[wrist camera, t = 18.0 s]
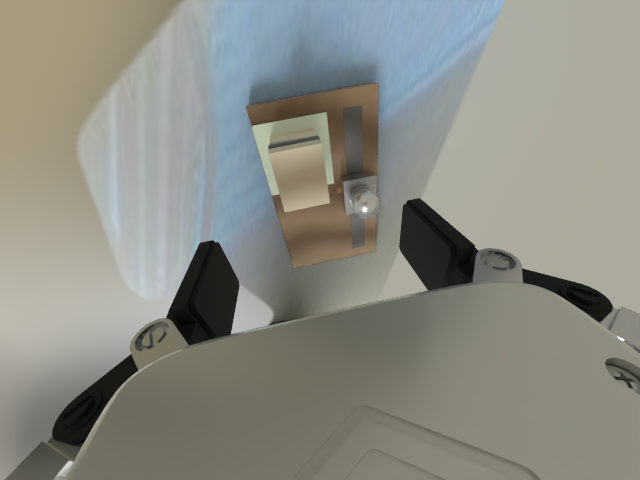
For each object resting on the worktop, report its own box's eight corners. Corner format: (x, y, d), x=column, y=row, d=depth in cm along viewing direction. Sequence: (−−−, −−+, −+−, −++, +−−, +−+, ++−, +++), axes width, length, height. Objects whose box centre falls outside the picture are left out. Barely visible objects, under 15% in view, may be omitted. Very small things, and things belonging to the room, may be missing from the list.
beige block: (320, 178, 24) (330, 203, 20) (282, 185, 24) (284, 213, 20) (312, 126, 21) (322, 142, 17) (269, 135, 21) (267, 153, 16)
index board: (372, 244, 34) (376, 251, 32) (292, 261, 33) (293, 269, 32) (373, 82, 22) (378, 83, 20) (247, 105, 21) (245, 107, 20)
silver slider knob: (372, 202, 27) (385, 220, 24) (343, 208, 27) (352, 227, 24) (372, 170, 25) (386, 185, 21) (340, 176, 25) (349, 192, 21)
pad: (333, 182, 25) (334, 183, 25) (271, 194, 25) (271, 195, 25) (326, 112, 21) (326, 112, 21) (251, 125, 21) (251, 126, 21)
